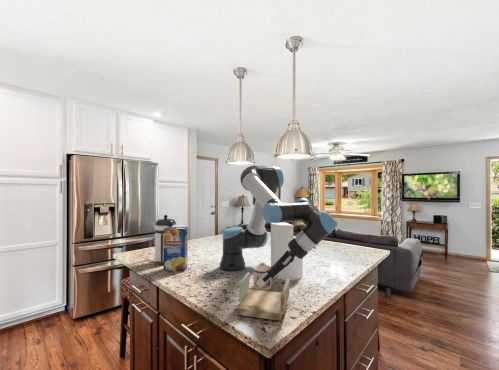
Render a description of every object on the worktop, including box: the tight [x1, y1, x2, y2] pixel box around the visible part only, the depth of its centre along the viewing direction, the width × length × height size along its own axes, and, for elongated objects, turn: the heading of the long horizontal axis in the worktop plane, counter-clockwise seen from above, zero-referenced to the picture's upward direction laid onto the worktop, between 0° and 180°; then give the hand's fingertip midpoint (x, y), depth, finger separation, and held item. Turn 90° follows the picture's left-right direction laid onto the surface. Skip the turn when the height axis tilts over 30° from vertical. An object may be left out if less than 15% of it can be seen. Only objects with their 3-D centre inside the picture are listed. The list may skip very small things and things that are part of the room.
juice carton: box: [162, 226, 189, 272], centre depth 144 cm, size 12×8×24 cm, turn 92°
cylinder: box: [270, 222, 304, 281], centre depth 137 cm, size 17×17×28 cm
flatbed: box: [236, 279, 290, 322], centre depth 97 cm, size 17×18×9 cm
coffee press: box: [152, 214, 177, 266], centre depth 159 cm, size 17×16×30 cm
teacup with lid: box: [252, 261, 278, 291], centre depth 118 cm, size 12×9×12 cm
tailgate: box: [238, 272, 251, 303], centre depth 100 cm, size 2×11×8 cm, turn 165°
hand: (258, 284), depth 98 cm, fingers closed
